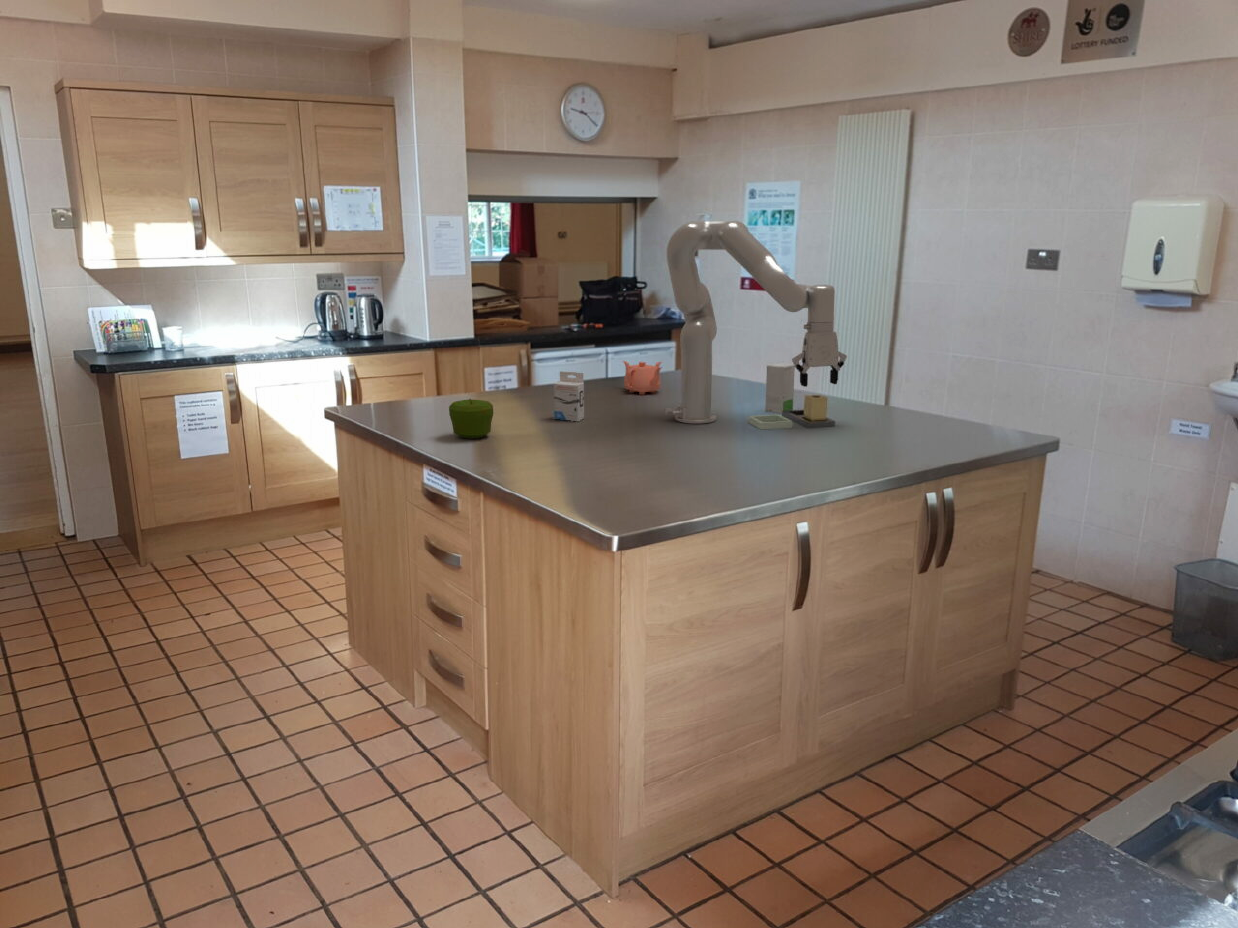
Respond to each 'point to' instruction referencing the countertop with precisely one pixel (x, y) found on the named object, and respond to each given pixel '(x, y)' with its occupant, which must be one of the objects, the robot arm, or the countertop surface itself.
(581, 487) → the countertop surface
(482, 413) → the apple
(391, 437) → the countertop surface
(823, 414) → the pale yellow tall block
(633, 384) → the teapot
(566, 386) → the ink box
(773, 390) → the skincare box
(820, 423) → the grey metal tray
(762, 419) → the tray
